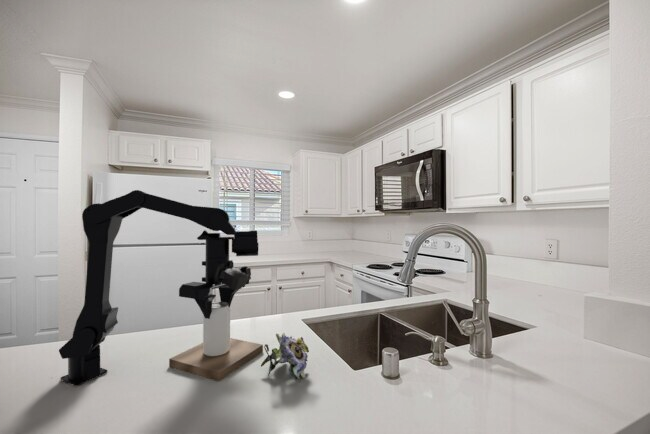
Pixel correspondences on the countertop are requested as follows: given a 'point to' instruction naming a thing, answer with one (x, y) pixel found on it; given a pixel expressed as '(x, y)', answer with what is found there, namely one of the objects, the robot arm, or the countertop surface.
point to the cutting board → (216, 360)
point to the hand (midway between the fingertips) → (217, 317)
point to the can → (217, 330)
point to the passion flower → (289, 355)
